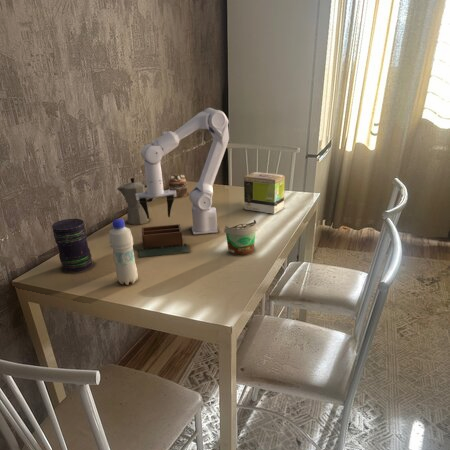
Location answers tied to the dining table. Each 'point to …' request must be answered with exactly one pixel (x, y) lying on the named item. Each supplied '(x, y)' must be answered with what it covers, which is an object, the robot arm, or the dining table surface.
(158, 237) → the drawer
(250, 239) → the food container
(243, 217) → the dining table surface
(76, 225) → the storage jar
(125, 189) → the coffeepot
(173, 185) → the cupcake
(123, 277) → the bottle
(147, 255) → the flat teal board
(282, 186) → the tea box
